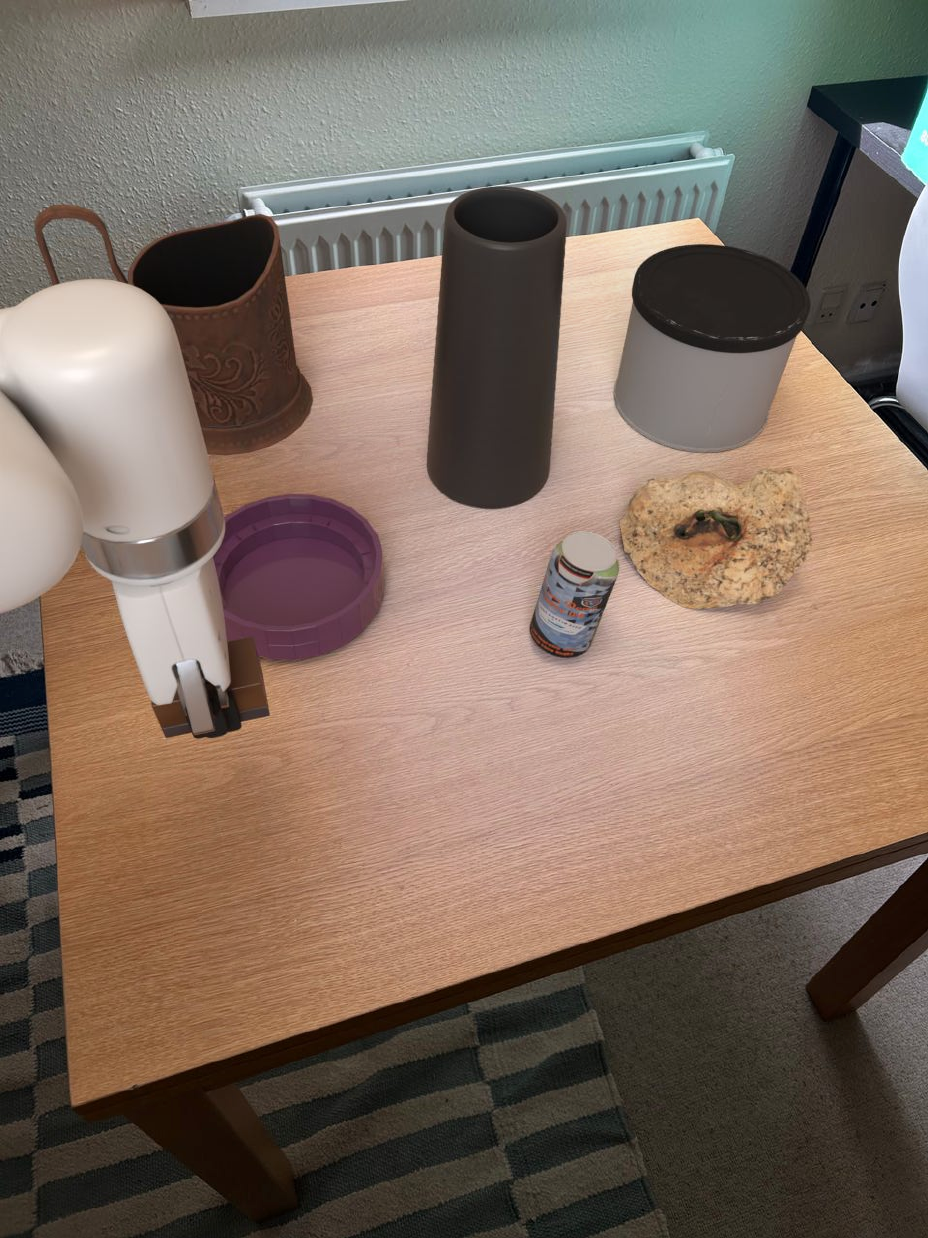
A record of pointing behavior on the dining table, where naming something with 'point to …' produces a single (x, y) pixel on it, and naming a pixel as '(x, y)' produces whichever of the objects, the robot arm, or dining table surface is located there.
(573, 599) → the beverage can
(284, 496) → the bowl
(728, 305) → the container
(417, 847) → the dining table surface
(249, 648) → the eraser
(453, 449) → the vase
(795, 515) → the beige rock
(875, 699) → the dining table surface
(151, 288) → the cup holder
